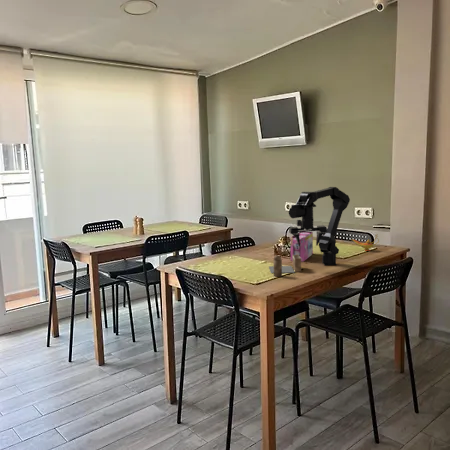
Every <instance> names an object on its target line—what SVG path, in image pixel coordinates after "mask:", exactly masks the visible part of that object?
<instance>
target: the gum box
mask: <svg viewBox="0 0 450 450" xmlns="http://www.w3.org/2000/svg"><path fill="white" fill-rule="evenodd" d="M313 232H314V231H306V232H298V234H299V239H300V247H299V246H298V243H297V240H296V238H295V236H294V235H292V236H291V237H290V261H291V262H293V255H299V256H300V258H301V262H305V261H306V260H308V259H309V257H311V256H312V255H313V254H314V250H313V249H314V243H313V241H314V240H313V239H314V237H313V236H314V235H313Z"/></svg>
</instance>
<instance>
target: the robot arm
mask: <svg viewBox="0 0 450 450" xmlns="http://www.w3.org/2000/svg"><path fill="white" fill-rule="evenodd" d="M326 197H329V198H330V199H331V200H332V208H333V210H332V211H331V212H332V213H331V216H330V220H329V223H328V225H327V226H325V225H323V224H322V225H317V226H316V227H315V226H314V208H316V207H317V204H315V202H317V201H318V200H319V199H322V198H326ZM350 201H351V199H350V197H349V195H348V194H346V192H344V191H342V190H340V189H339V188H338V187H336V186H329V187H327V188H322V189H318V190H314V191H302V192H301V193H300V194H299V197H298V199H297V201H296V203H295V204H291V207H290V208H289V210H288V215H289V217H290V219H297V220H296V226H289V228H288V232H289V233H290V235H292V236H295V238H296V240H297V243H298V246H299V247H300V239H299V234H298V233H299V232H316V239H315V241H316V242H315V246H316V247H317V246H318V247H319V250H320V251H319V252H320V253H322V255H321V262H322V265H324V266H337V265H338V264H337V254H339V253H340V249H339V248H338V247H337V244H336V243H337V241H336V233H337V230H338V228H339V224H340V222H341V218H342V215H343V212H344V211H345V210H346V208H348V206H349V204H350ZM300 218H301V219H300ZM299 227H300V228H299Z"/></svg>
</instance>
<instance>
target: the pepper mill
mask: <svg viewBox="0 0 450 450" xmlns="http://www.w3.org/2000/svg"><path fill="white" fill-rule="evenodd" d="M273 266H274V274H273V277H274V276H275V277H274V278H276V277H277V278H279V277H280V278H281V277H282V276H283V273H282V266H283V263H282V257H281V255H275V256H274V257H273Z"/></svg>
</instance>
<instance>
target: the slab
mask: <svg viewBox="0 0 450 450" xmlns="http://www.w3.org/2000/svg"><path fill="white" fill-rule="evenodd" d="M292 268H293V270H295V271H294V272H295V273H302V261H301V258H300V256H299V255H293V261H292Z"/></svg>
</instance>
